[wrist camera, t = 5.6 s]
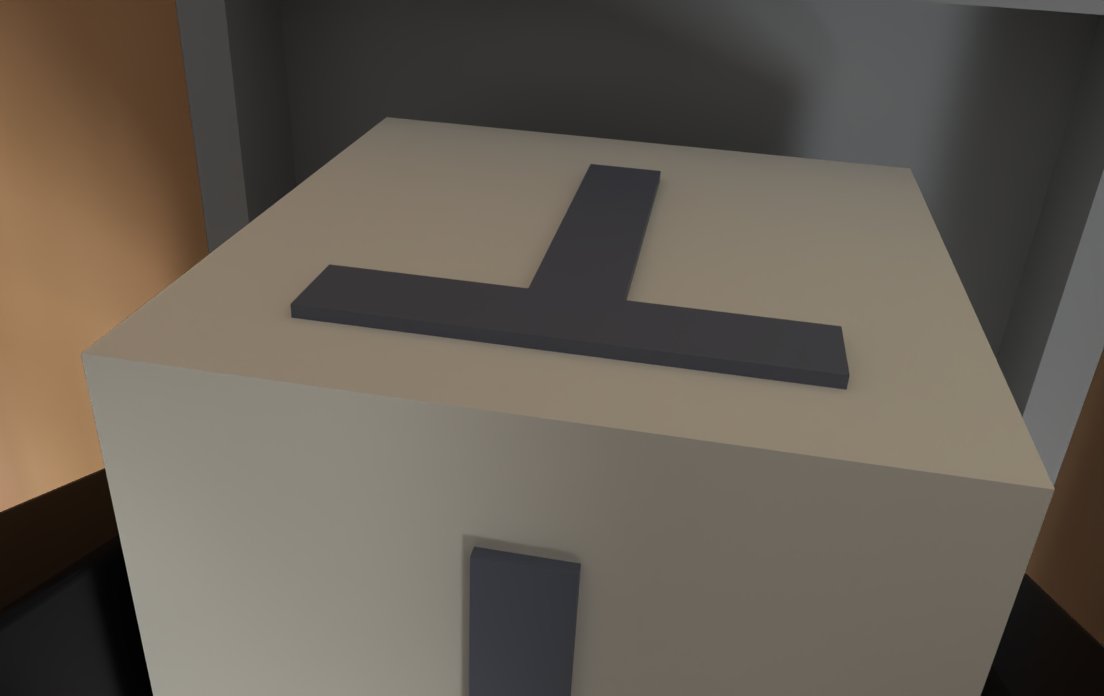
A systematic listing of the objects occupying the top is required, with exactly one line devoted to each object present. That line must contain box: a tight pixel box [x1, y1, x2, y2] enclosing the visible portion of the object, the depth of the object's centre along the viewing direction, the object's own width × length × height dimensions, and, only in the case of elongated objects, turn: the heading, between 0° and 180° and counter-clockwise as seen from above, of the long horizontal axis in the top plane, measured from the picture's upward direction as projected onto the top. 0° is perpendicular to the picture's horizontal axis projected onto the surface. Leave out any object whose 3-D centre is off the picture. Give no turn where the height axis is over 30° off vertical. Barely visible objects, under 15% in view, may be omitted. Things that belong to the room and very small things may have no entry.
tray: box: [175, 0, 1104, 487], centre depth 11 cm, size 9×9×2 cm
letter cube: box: [81, 117, 1055, 696], centre depth 8 cm, size 5×5×5 cm
